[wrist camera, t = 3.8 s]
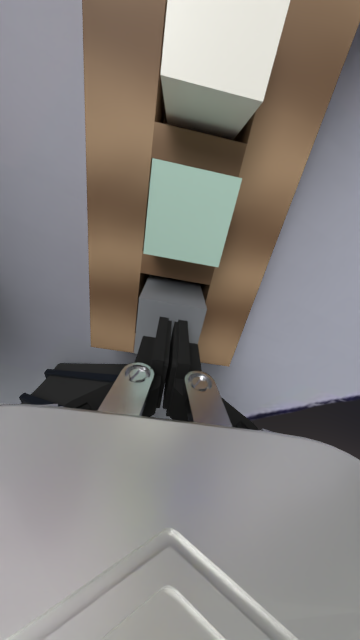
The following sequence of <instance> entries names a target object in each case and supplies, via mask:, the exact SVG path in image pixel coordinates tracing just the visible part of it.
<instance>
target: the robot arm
mask: <svg viewBox="0 0 360 640" xmlns="http://www.w3.org/2000/svg"><path fill="white" fill-rule="evenodd" d="M171 326H172V321H170V320H169V318H166V317H160V318H159V323H158V328H157V333H156V337H149V336H143V337H142V340H141V344H140V347H139V350H138V354H137V357H136V360H135V363H131V364H128V365H126V366H125V367H124V368H123V369H122V371H121V372H120V374H119V376H118V377H117V379H116V380H115V381H113V382H111V383H109V384H107V385H105V386H102V387H100V388H98V389H96V390H94V391H91V392H89V393H87V394H85V395H83V396H81V397H78V398H76V399H74V400H72V401H70V402H69V403H67V404H66V405H65V406H59V407H58V404H47V405H31V404H2V405H0V640H360V460H358V459H357V458H355V457H353V456H352V455H350V454H348V453H346V452H344V451H342V450H340V449H338V448H335V447H333V446H330V445H328V444H325V443H322V442H319V441H316V440H311V439H307V438H303V437H298V436H292V435H286V434H280V433H274V432H271V431H268V430H265V429H262V430H261V431H260V430H258V428H257V427H256V426H255V425H254V424H253V423H252V422H251V421H250V420H248V419H247V418H246V417H245V416H243V415H242V414H241V413H240V412H239V411H237V410H236V409H235V408H234V407H232V406H231V405H230V404H229V403H227V402H226V401H225V400H224V399H223V398H221V396H220V394H219V391H218V389H217V386H216V383H215V381H214V380H213V378H212V377H211V376H210V375H208V374H206V373H204V372H202V370H201V363H200V355H199V348H198V344H195V343H189V334H188V321H184V320H178V322H176V321H175V322H174V327H173V332H172V337H171ZM170 339H171V342H170ZM164 384H165V389H164ZM163 389H164V400H163V409H167V411H166V416H170V417H171V419H172V420H171V419H162V418H154V417H150V416H152V415H153V414H155V411H156V408H160V404H161V399H162V394H163Z"/></svg>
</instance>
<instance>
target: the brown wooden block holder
mask: <svg viewBox="0 0 360 640" xmlns="http://www.w3.org/2000/svg"><path fill="white" fill-rule="evenodd" d="M82 10H83V50H84V90H85V130H86V170H87V210H88V249H89V289H90V329H91V347H96V348H103V349H110V350H117V351H124V352H131V353H134V345H135V335H136V324H137V314H138V304H139V297H140V295H141V293H142V290H143V288H144V286H145V284H146V282H147V279H148V277H149V275H156V276H162V277H167V278H173V279H178V280H184V281H190V282H195V283H200V286H201V289H202V293H203V296H204V300H205V304H206V307H207V311H206V315H205V319H204V322H203V326H202V330H201V334H200V337H199V341H198V348H199V355H200V362H201V363H208V364H215V365H222V366H229V365H230V362H231V360H232V357H233V355H234V352H235V349H236V347H237V344H238V341H239V339H240V336H241V334H242V331H243V328H244V326H245V323H246V320H247V318H248V315H249V312H250V310H251V307H252V305H253V302H254V299H255V297H256V294H257V291H258V289H259V286H260V283H261V281H262V278H263V276H264V273H265V270H266V268H267V265H268V262H269V260H270V257H271V254H272V252H273V249H274V247H275V244H276V241H277V239H278V236H279V233H280V231H281V228H282V226H283V223H284V220H285V218H286V215H287V212H288V210H289V207H290V204H291V202H292V199H293V197H294V194H295V191H296V189H297V186H298V183H299V181H300V178H301V175H302V173H303V170H304V168H305V165H306V162H307V160H308V157H309V154H310V152H311V149H312V146H313V144H314V141H315V139H316V136H317V133H318V131H319V128H320V125H321V123H322V120H323V118H324V115H325V112H326V110H327V107H328V104H329V102H330V99H331V96H332V94H333V91H334V89H335V86H336V83H337V81H338V78H339V75H340V73H341V70H342V67H343V65H344V62H345V60H346V57H347V54H348V52H349V49H350V46H351V44H352V41H353V38H354V36H355V33H356V31H357V28H358V25H359V23H360V0H290V4H289V7H288V11H287V15H286V18H285V22H284V26H283V30H282V33H281V37H280V41H279V44H278V48H277V52H276V56H275V59H274V63H273V67H272V70H271V74H270V78H269V81H268V85H267V89H266V93H265V96H264V100H263V102H262V104H261V105H260V106H259V108H258V109H257V110H256V111H255V113H254V114H253V115H252V117H251V118H250V119H249V120H248V122H247V123H246V124H245V126H244V127H243V128H242V129H241V131H240V132H239V133H238V135H237V136H236V137H235V138H234V140H232V139H227V138H223V137H219V136H215V135H211V134H207V133H203V132H199V131H194V130H190V129H186V128H182V127H178V126H174V125H170V124H167V118H166V111H165V104H164V97H163V90H162V83H161V76H160V74H161V63H162V53H163V42H164V32H165V21H166V11H167V0H82ZM152 158H154V159H159V160H163V161H168V162H172V163H177V164H181V165H185V166H190V167H194V168H199V169H203V170H207V171H212V172H216V173H221V174H225V175H230V176H234V177H238V178H242V182H241V185H240V189H239V193H238V196H237V200H236V204H235V208H234V211H233V215H232V219H231V222H230V226H229V230H228V234H227V237H226V241H225V245H224V248H223V252H222V256H221V259H220V263H219V267H213V266H208V265H202V264H197V263H192V262H186V261H181V260H175V259H170V258H165V257H159V256H154V255H148V254H143V251H144V241H145V230H146V220H147V209H148V199H149V189H150V178H151V168H152Z"/></svg>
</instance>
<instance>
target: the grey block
mask: <svg viewBox="0 0 360 640" xmlns="http://www.w3.org/2000/svg"><path fill="white" fill-rule="evenodd" d="M206 311H207V307H206V304H205V300H204V296H203V293H202V289H201V286H200V283H195V282H190V281H184V280H178V279H173V278H167V277H162V276H156V275H149V277H148V279H147V282H146V284H145V286H144V288H143V290H142V293H141V295H140V297H139V304H138V314H137V324H136V335H135V345H134V354H138V350H139V347H140V344H141V340H142V337H143V336H149V337H156V333H157V328H158V323H159V318H160V317H166V318H169V320H170V321H172V326H171V337H172V332H173V327H174V322H175V321H176V322H178V320H184V321H188V334H189V343H195V344H198V341H199V337H200V334H201V330H202V326H203V322H204V319H205V315H206ZM170 342H171V339H170Z"/></svg>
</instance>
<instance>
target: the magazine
mask: <svg viewBox="0 0 360 640" xmlns="http://www.w3.org/2000/svg"><path fill="white" fill-rule="evenodd" d="M126 365H128V364H64V363H60V364H58V365H57V366H56V367H55V369H54V370H52V369H47V370H46V371H45V372H44V374H45V377H46V379H45V381H44V382H43V383H42V384H41V385H40V386H39V387H38V388H37V389H36V390H35V391H34V392H33V393H32V394H31V395H29V394H26V393H23V394H22V395H21V396H20V397H19V398H20V400H21V402H22V403H21V404H31V405H47V404H58V407H59V406H65V405H66V404H67V403H69V402H70V401H72V400H74V399H76V398H78V397H81V396H83V395H85V394H87V393H89V392H91V391H94V390H96V389H98V388H100V387H102V386H105V385H107V384H109V383H111V382H113V381H115V380H116V379H117V377H118V376H119V374H120V372H121V371H122V369H123V368H124V367H125V366H126Z"/></svg>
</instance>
